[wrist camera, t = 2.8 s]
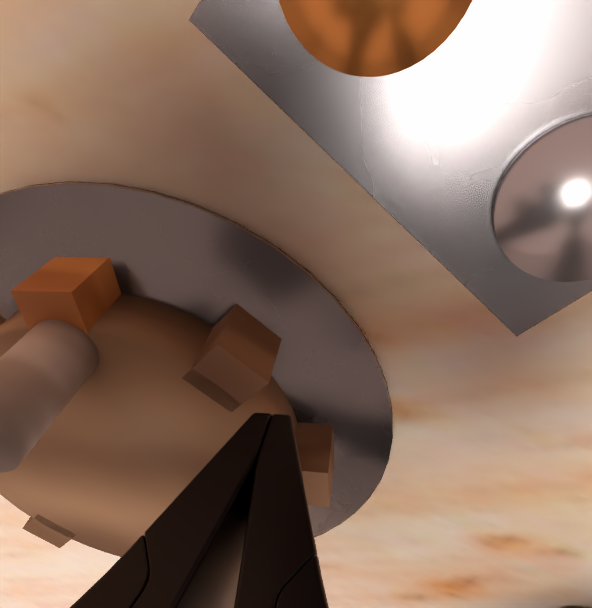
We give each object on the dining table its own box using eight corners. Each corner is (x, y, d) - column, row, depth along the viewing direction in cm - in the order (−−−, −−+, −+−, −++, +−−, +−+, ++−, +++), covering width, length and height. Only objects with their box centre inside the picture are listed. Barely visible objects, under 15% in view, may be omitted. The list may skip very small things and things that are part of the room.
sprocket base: (382, 568, 21) (382, 577, 21) (30, 527, 25) (25, 534, 24) (410, 174, 11) (411, 179, 11) (-199, 187, 14) (-212, 191, 14)
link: (618, 102, 10) (807, 172, 6) (467, 223, 12) (520, 343, 8) (403, -182, 8) (436, -408, 4) (266, 16, 10) (183, 19, 6)
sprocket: (337, 552, 20) (326, 706, 16) (43, 519, 23) (-39, 644, 18) (328, 259, 12) (300, 401, 8) (-124, 255, 15) (-345, 362, 10)
